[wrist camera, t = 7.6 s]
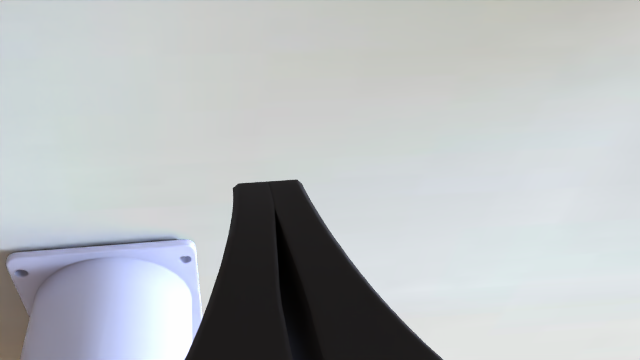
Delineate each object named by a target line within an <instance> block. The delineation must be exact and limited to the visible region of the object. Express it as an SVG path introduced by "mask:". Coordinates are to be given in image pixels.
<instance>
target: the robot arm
mask: <svg viewBox="0 0 640 360" xmlns="http://www.w3.org/2000/svg"><path fill="white" fill-rule="evenodd" d="M183 256H187V257H183ZM6 268H7V270H8V272H9V274H10V276H11V278H12V281H13V283H14V285H15V287H16V289H17V291H18V294H19V296H20V298H21V300H22V302H23V304H24V306H25V309H26V311H27V313H28V315H29V317H30V320H29V324H28V328H27V332H26V336H25V341H24V345H23V349H22V353H21V357H20V360H443V359H442V358H441V357H440V356H439V355H437V354H436V353H435V352H434V351H433V350H432V349H431V348H430V347H428V346H427V345H426V344H425V343H424V342H423V341H422V340H421V339H420V338H419V337H418V336H417V335H416V334H415V333H414V332H413V331H412V330H411V329H410V328H409V327H408V326H407V325H406V324H405V323H404V322H403V321H402V320H401V319H400V318H399V317H398V316H397V314H396V313H395V312H394V311H393V310H392V309H391V308H390V307H389V306H388V305H387V304H386V303H385V301H384V300H383V299H382V298H381V297H380V296H379V295H378V293H377V292H376V291H375V290H374V289H373V288H372V286H371V285H370V284H369V283H368V282H367V280H366V279H365V278H364V277H363V275H362V274H361V273H360V272H359V270H358V269H357V268H356V267H355V265H354V264H353V263H352V261H351V260H350V259H349V257H348V256H347V255H346V253H345V252H344V250H343V249H342V248H341V246H340V245H339V244H338V242H337V241H336V239H335V238H334V237H333V235H332V234H331V232H330V231H329V229H328V228H327V226H326V225H325V223H324V222H323V220H322V218H321V217H320V215H319V214H318V212H317V210H316V209H315V207H314V205H313V204H312V202H311V200H310V198H309V197H308V195H307V193H306V191H305V189H304V187H303V185H302V183H300V182H299V181H298V180H285V181H270V182H255V183H240V184H237V185H236V186H235V187H234V188H233V212H232V219H231V224H230V230H229V235H228V239H227V243H226V247H225V251H224V255H223V259H222V263H221V266H220V269H219V273H218V276H217V279H216V282H215V285H214V288H213V291H212V293H211V296H210V299H209V302H208V305H207V308H206V310H205V313H204V316H203V318H202V308H201V298H200V288H199V277H198V267H197V257H196V246H195V244H194V243H193V242H192V241H190V240H185V239H183V240H170V241H157V242H144V243H131V244H118V245H106V246H93V247H80V248H67V249H54V250H41V251H28V252H17V253H12V254H10V255H9V256H8V258H7V260H6Z"/></svg>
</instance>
